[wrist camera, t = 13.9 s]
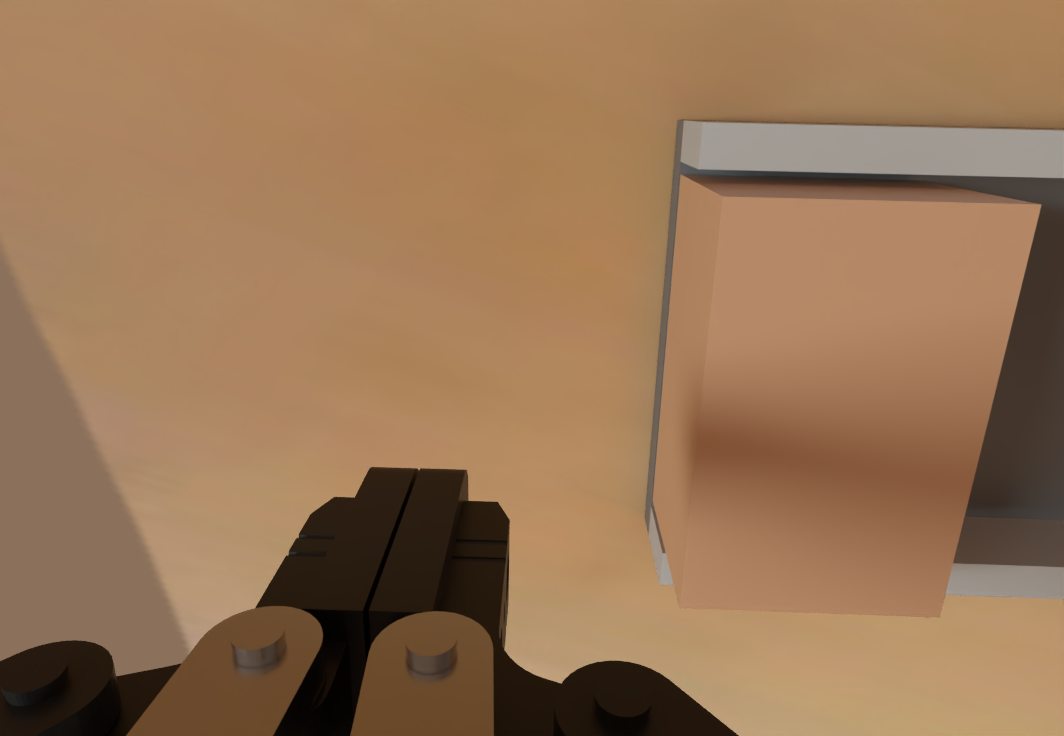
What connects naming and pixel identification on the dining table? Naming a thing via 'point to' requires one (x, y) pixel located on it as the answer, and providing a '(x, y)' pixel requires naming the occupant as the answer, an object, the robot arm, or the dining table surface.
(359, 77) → the dining table surface
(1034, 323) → the tray
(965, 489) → the block
